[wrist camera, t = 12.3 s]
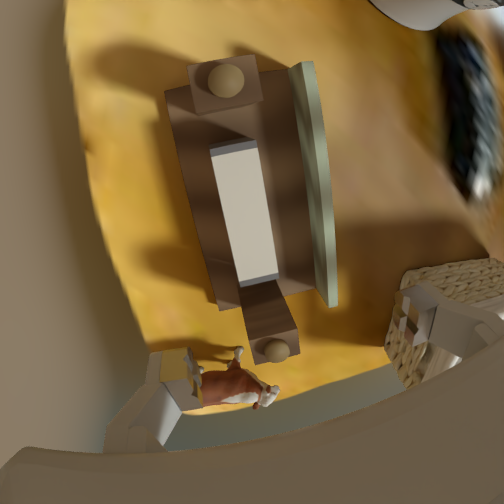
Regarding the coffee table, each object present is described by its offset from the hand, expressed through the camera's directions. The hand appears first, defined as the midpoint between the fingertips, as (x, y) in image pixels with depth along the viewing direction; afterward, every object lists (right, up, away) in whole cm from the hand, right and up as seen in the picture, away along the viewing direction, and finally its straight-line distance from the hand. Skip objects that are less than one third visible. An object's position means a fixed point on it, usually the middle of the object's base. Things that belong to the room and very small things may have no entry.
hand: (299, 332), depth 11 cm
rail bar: (-3, +7, +17) cm, 19 cm away
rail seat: (-2, +9, +18) cm, 20 cm away
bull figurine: (-6, -11, +27) cm, 29 cm away
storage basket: (+28, -4, +30) cm, 41 cm away
